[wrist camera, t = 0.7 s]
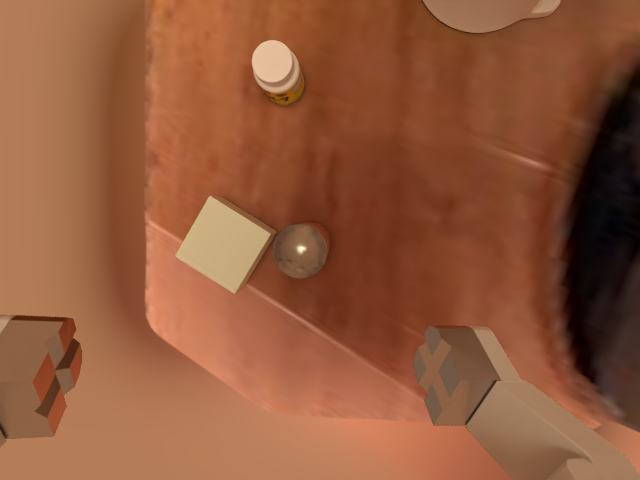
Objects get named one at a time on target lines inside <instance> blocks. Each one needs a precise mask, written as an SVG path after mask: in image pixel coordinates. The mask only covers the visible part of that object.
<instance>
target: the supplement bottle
mask: <svg viewBox="0 0 640 480" xmlns="http://www.w3.org/2000/svg"><path fill="white" fill-rule="evenodd" d="M252 67H253V71H254V77H255V79H256V81H257V83H258V85H259V86H260V87H261V89H262V90H263V91H264V93H265V94H266V95H267V97H268V98H269V99H270V100H271V101H272V102H273V103H275V104H277V105H280V106H290V105H293V104H295V103H296V102H298V101H299V100H300V98H301V97H302V95H303V93H304V90H305V81H304V77H303V74H302V71H301V68H300V65H299V62H298V60H297V58H296V56H295V55H294V53H293V52H292V51H290V50H289V49H288V47H287V46H286V45H285V44H283V43H281V42H279V41H276V40H269V41H266V42H263V43H262V44H260V45H259V46H258V47H257V48H256V50H255V51H254V53H253V57H252Z"/></svg>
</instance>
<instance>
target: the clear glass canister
mask: <svg viewBox="0 0 640 480" xmlns="http://www.w3.org/2000/svg"><path fill="white" fill-rule="evenodd" d="M330 246H331V239H330V235H329V233H328V231H327V230H326V228H325V227H324V226H322V225H321V224H319V223H317V222H312V221H308V222H303V223H300V224H294V225H291V226H288V227H286V228H285V229H283V230H282V231H281V232H280V233H279V234H278V236H277V237H276V239H275V241H274V244H273V258H274V261H275V263H276V265H277V266H278V268H279V269H280V270H281V271H282V272H283V273H285V274H286V275H288V276H290V277H294V278H307V277H310V276H312V275H314V274H315V273H317V272H318V271H319V270H320V269H321V268H322V266H323V264H324V263H325V260H326V257H327V254H328V252H329V249H330Z"/></svg>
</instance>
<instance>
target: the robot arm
mask: <svg viewBox="0 0 640 480" xmlns="http://www.w3.org/2000/svg"><path fill="white" fill-rule="evenodd" d="M423 2H424V3H425V5H426V6H427V8H428V9H429V10H430V12H431V13H432V14H433V15H434V16H435V17H436V18H438V19H439V20H440V21H441V22H443V23H444V24H446V25H448V26H450V27H452V28H455V29H457V30H461V31H465V32H471V33H484V32H491V31H495V30H499V29H502V28H504V27H506V26H508V25H511V24H513V23H515V22H517V21H519V20H522V19H525V18H540V17H546V16H549V15H551V14H552V13H553V12H554V11H555V10H556V8H557V7H558V6H559V4H560V2H561V0H423ZM75 331H76V326H75V323H74V320H73V319H72V318H67V317H46V316H25V315H0V447H1V446H2V445H3V444H4V443H5V442H6V439H16V438H34V437H52V436H54V435H55V433H56V430H57V428H58V426H59V423H60V421H61V418H62V416H63V414H64V411H65V409H66V407H67V406H66V402H65V399H64V395H65V394H66V393H67V392H69V391H70V390H71V389H72V388H74V387H75V384H76V382H77V379H78V377H79V374H80V369H81V364H82V349H81V345H80V343H79V342H78V341H76V340H75V339H74V338H73V336H74V333H75ZM424 338H425V340H426V342H425V343H424V344H422V345H421V346H419V347H418V349H417V351H416V354H415V356H414V370H415V376H416V379H417V382H418V384H419V385H420V386H421V387H422V388H423V389H424V390H425V391H426V392H427V394H426V397H425V400H424V401H425V404H426V407H427V409H428V412H429V415H430V417H431V420H432V423H433V425H434V426H435V425H436V426H440V425H441V426H443V425H444V426H449V425H451V426H453V425H455V426H456V425H457V426H466V427H465V428H466V429H467V430H468V431H469V432H470V433H471V434H472V435H473V436H474V438H475V439H476V440H477V441H478V442H479V443H480V444H481V445H482V446H483V447H484V448H485V450H486V451H487V452H488V453H489V454H490V455H491V456H492V457H493V458H494V459H495V460H496V462H497V463H498V464H499V465H500V466H501V467H502V468H503V469H504V470H505V471H506V472H507V474H508V475H509V476H510V477H511V478H512V479H513V480H640V474H639V473H638V472H637V470H636V469H635V467H633V465H632V463H631V462H630V461H629V459H628V457H627V456H626V455H625V454H624V453H622V452H621V451H620V450H619V449H617V448H616V447H615V446H613V445H612V444H611V443H609V442H608V441H607V440H605V439H604V438H603V437H601V436H600V435H599V434H597V433H596V432H595V431H593V430H592V429H591V428H589V427H588V426H587V425H585V424H584V423H583V422H581V421H580V420H579V419H577V418H576V417H575V416H573V415H572V414H571V413H570V412H568V411H567V410H566V409H564V408H563V407H562V406H560V405H559V404H558V403H556V402H555V401H554V400H552V399H551V398H550V397H548V396H547V395H546V394H544V393H543V392H542V391H540V390H539V389H538V388H536V387H535V386H534V385H532V384H531V383H530V382H528V381H522V380H521V378H520V376H519V375H518V373H517V371H516V370H515V368H514V367H513V365H512V363H511V362H510V360H509V358H508V357H507V355H506V353H505V352H504V350H503V348H502V347H501V345H500V343H499V342H498V340H497V338H496V337H495V335H494V333H493V332H492V330H491V329H489V328H488V327H487V326H432V325H431V326H430V327H429V328H427V330H426V332H425V334H424Z"/></svg>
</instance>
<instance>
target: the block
mask: <svg viewBox="0 0 640 480" xmlns="http://www.w3.org/2000/svg"><path fill="white" fill-rule="evenodd" d="M276 233H277V231H276V230H274V229H272V228H271V227H269V226H268V225H266V224H264V223H263V222H261V221H260V220H258V219H256V218H255V217H253V216H252V215H250V214H248V213H247V212H245V211H244V210H242V209H240V208H239V207H237V206H236V205H234V204H232V203H231V202H229V201H228V200H226V199H224V198H223V197H220V196H209V198H208V200H207V202H206V203H205V205H204V207H203V208H202V210H201V212H200V214H199V215H198V217H197V219H196V221H195V222H194V224H193V226H192V227H191V229H190V231H189V233H188V234H187V236H186V238H185V240H184V241H183V243H182V245H181V247H180V248H179V250H178V252H177V253H176V255H175V257H177V258H178V259H180V260H181V261H183V262H185V263H186V264H188V265H189V266H191V267H193V268H194V269H196V270H197V271H199V272H200V273H202V274H204V275H205V276H207V277H208V278H210V279H212V280H213V281H215V282H216V283H218V284H220V285H221V286H223V287H224V288H226V289H227V290H229V291H231V292H232V293H234V294H235V293H237V292H238V291H239V290H241V289H242V288H243V287H244V286H245V284H246V283H247V281H248V279H249V278H250V276H251V274H252V273H253V271H254V269H255V268H256V266H257V264H258V263H259V261H260V260H261V258H262V256H263V255H264V253H265V251H266V250H267V248H268V246H269V245H270V243H271V241H272V240H273V238H274V236H275V235H276Z"/></svg>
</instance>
